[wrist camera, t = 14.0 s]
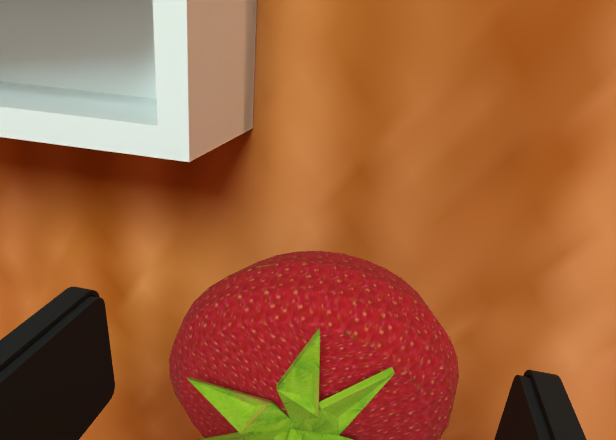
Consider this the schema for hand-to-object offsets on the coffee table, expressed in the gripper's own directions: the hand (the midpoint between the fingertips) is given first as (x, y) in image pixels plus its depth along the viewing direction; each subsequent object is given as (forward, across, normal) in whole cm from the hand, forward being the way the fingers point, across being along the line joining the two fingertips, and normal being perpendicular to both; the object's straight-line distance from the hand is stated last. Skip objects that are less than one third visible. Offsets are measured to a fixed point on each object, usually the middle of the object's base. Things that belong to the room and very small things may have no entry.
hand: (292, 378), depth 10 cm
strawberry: (+7, 0, +1) cm, 7 cm away
